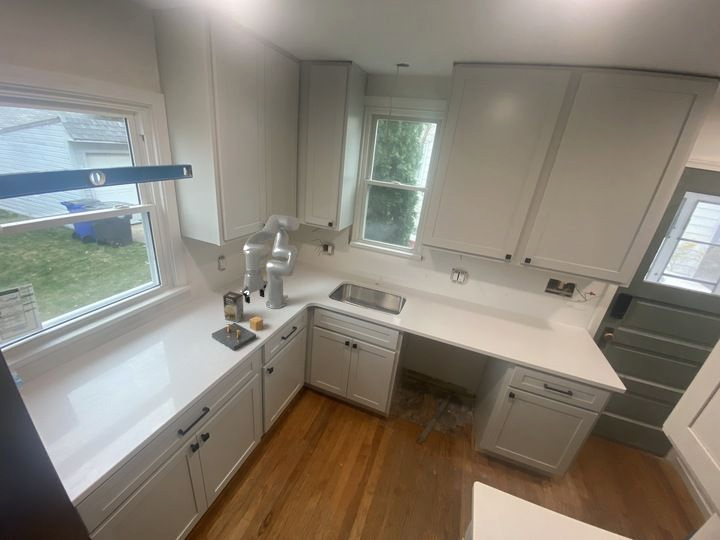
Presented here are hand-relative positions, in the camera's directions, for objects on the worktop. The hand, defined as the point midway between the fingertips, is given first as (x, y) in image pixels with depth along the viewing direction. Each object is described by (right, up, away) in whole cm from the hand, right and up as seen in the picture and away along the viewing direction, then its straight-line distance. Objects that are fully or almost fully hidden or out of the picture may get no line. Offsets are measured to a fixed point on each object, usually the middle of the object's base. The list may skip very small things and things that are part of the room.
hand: (255, 299), depth 161 cm
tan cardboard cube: (-2, -17, +7) cm, 18 cm away
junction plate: (-10, -20, -4) cm, 23 cm away
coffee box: (-17, -13, +13) cm, 25 cm away
